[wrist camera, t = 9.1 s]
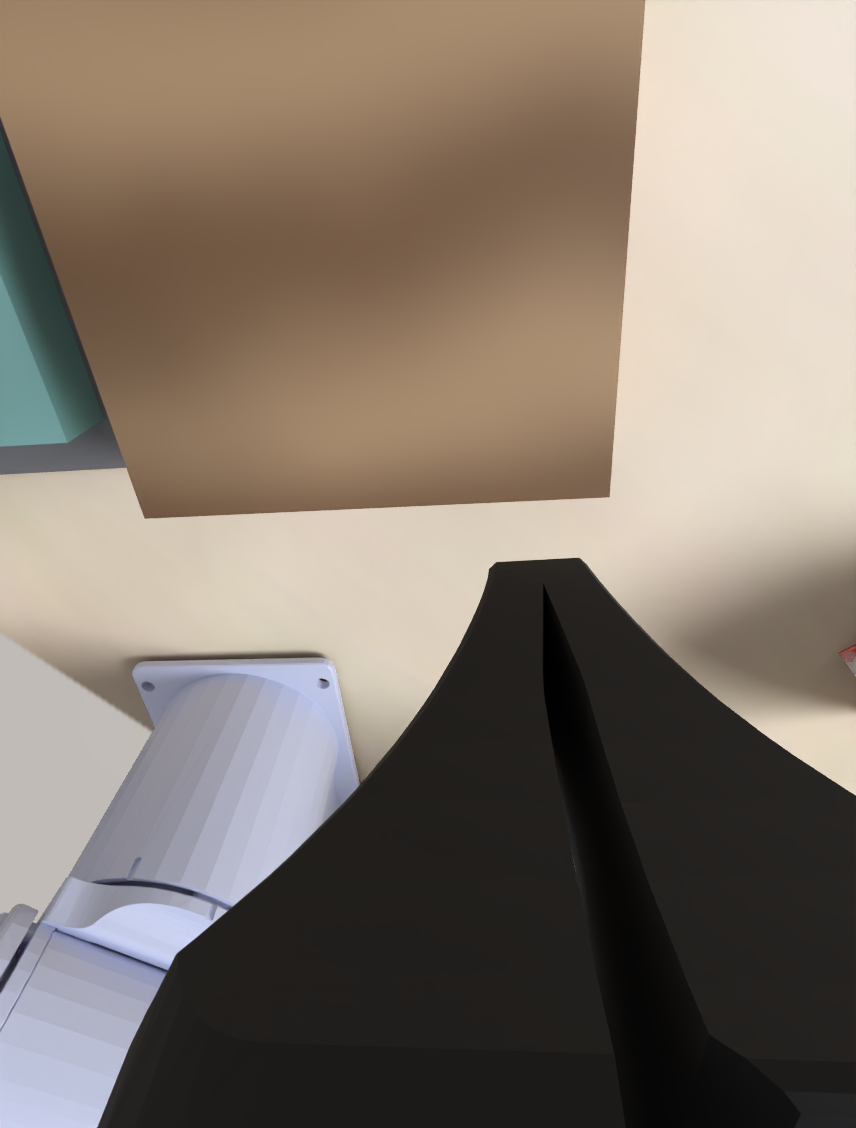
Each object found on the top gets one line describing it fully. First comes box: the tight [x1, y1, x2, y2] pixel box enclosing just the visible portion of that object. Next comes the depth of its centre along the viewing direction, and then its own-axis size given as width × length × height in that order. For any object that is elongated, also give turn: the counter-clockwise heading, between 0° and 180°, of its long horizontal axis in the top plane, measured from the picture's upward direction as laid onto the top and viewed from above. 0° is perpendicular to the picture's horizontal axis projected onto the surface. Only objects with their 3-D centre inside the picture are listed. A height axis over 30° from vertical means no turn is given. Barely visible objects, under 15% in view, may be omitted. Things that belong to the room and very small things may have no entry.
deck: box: [0, 0, 645, 518], centre depth 15 cm, size 12×12×4 cm
